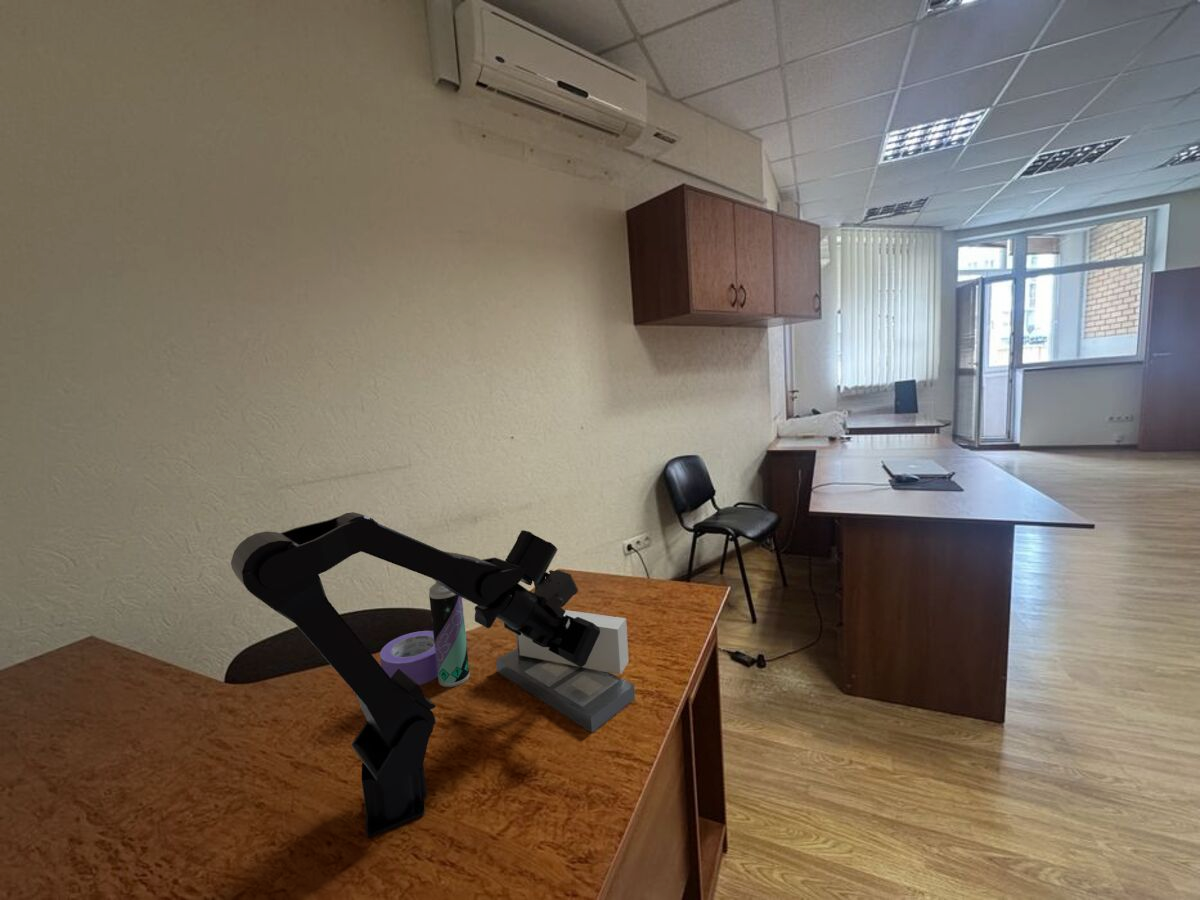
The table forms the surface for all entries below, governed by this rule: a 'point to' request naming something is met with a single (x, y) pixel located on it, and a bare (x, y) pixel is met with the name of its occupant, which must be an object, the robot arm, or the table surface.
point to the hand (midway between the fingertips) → (577, 646)
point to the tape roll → (411, 656)
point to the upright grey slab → (605, 653)
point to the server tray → (569, 688)
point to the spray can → (449, 636)
